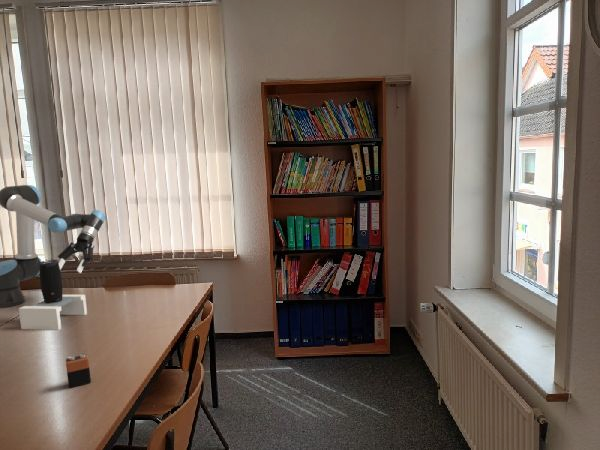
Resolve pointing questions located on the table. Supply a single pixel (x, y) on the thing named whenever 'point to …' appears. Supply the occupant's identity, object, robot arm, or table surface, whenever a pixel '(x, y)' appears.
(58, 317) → the square spool
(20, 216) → the robot arm
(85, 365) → the battery
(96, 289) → the table surface
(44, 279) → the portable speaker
